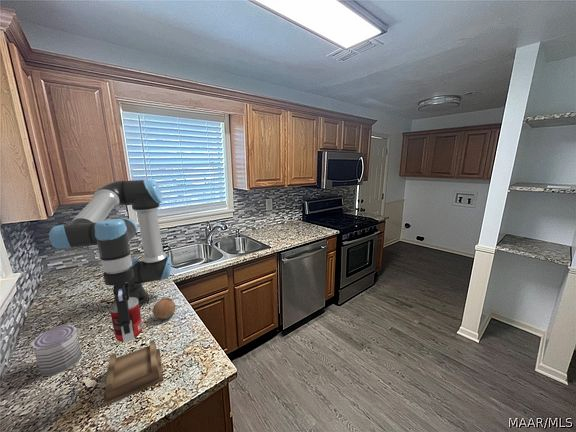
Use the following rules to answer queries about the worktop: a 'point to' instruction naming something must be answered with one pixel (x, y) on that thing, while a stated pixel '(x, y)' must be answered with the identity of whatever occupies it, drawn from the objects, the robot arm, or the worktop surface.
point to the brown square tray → (132, 373)
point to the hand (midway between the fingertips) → (129, 332)
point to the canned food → (134, 317)
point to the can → (57, 349)
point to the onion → (164, 308)
